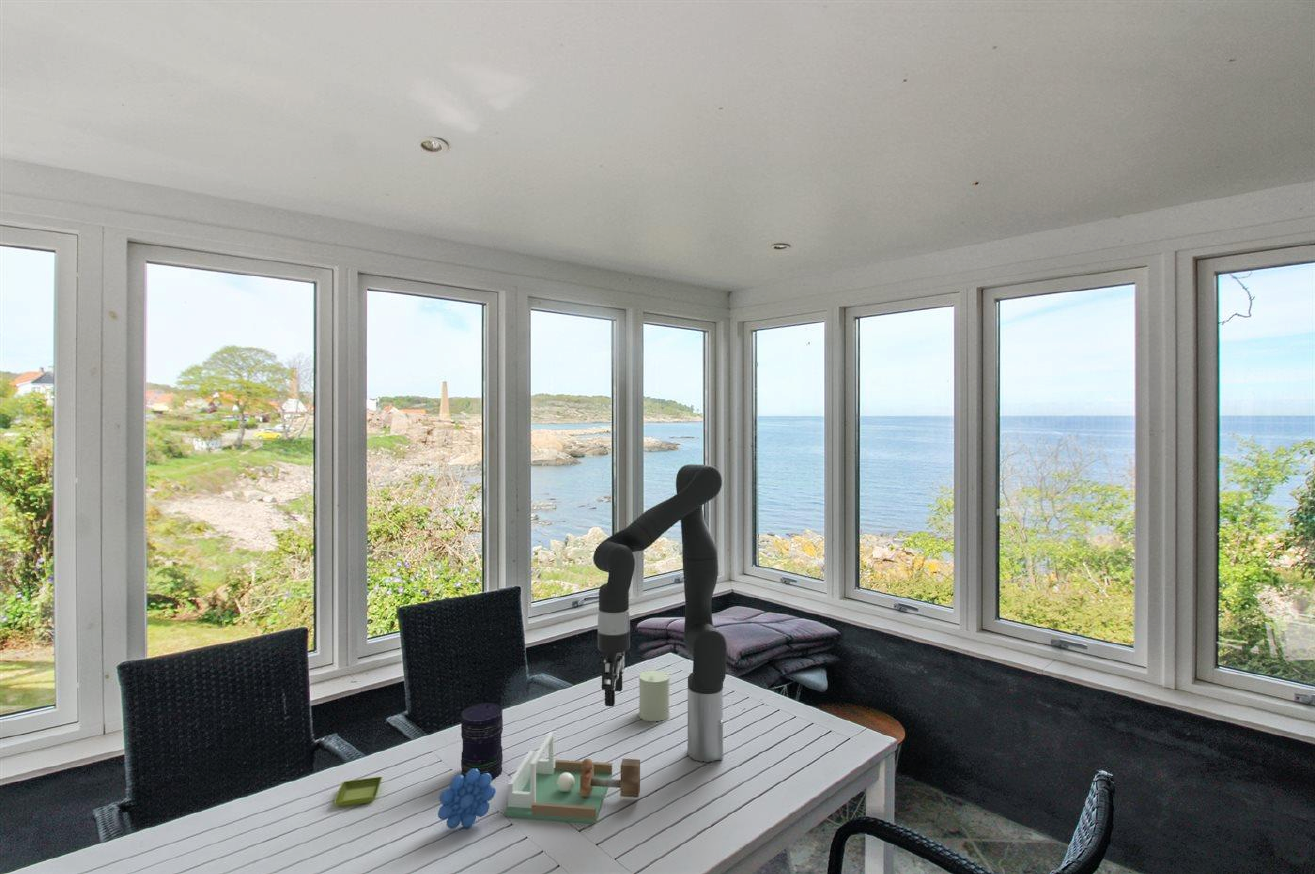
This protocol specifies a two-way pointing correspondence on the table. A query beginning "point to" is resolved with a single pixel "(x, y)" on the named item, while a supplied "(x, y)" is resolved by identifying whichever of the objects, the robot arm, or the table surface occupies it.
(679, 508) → the robot arm
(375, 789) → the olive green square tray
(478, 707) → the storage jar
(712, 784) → the table surface
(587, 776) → the kicker
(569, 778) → the ball
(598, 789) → the pitch
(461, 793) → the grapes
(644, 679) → the can
